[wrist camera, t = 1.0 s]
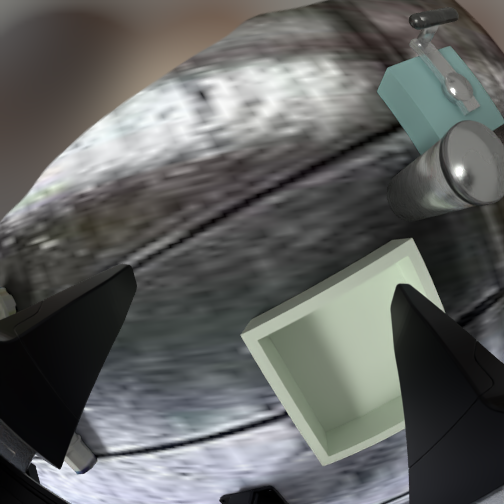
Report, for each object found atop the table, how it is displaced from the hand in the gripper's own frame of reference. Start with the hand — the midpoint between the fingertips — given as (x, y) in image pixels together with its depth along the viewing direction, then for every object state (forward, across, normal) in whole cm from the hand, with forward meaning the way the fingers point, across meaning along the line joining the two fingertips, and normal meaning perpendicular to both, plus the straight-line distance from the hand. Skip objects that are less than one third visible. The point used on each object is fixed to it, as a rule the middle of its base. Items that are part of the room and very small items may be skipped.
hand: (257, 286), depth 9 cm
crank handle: (+15, -12, -9) cm, 22 cm away
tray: (+9, -7, +12) cm, 16 cm away
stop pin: (+15, -10, +1) cm, 18 cm away
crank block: (+19, -13, -6) cm, 24 cm away
